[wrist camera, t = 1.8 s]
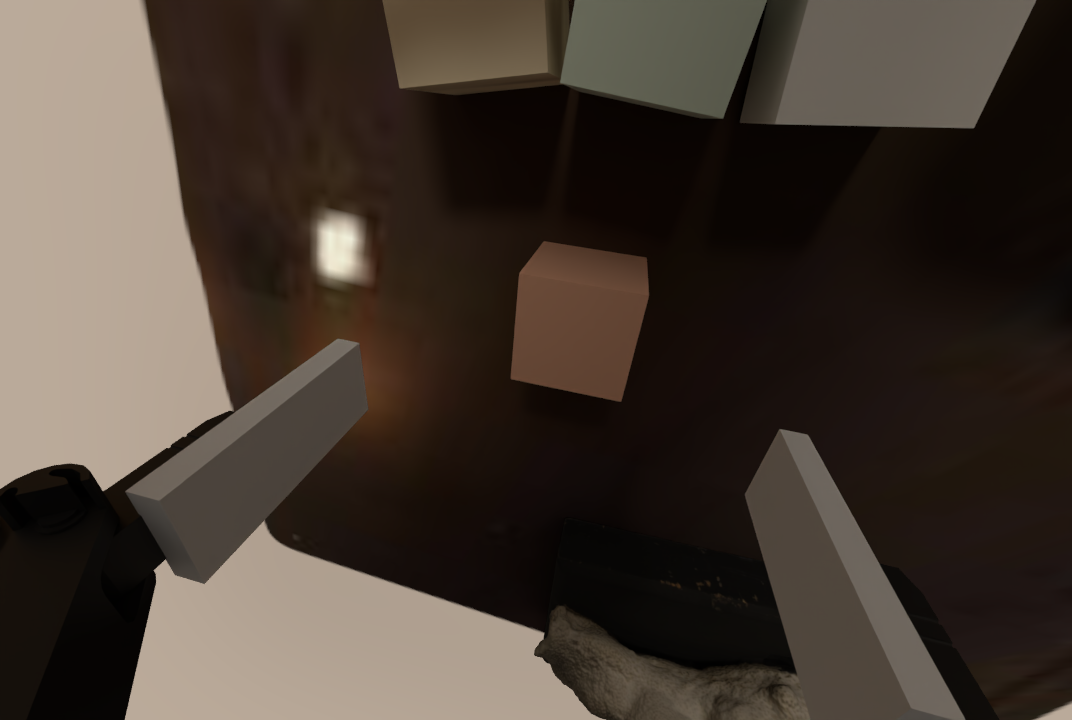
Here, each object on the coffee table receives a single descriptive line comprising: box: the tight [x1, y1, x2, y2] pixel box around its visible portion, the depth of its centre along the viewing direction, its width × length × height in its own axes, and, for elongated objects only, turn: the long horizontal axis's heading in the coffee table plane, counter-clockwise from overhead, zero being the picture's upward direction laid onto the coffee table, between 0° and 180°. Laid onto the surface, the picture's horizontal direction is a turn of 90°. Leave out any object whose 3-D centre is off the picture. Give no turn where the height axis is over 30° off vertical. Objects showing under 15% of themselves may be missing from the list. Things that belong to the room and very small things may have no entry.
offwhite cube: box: [739, 0, 1036, 128], centre depth 12 cm, size 5×5×5 cm
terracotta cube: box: [511, 241, 649, 402], centre depth 19 cm, size 5×5×5 cm
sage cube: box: [560, 0, 767, 119], centre depth 13 cm, size 5×5×5 cm
